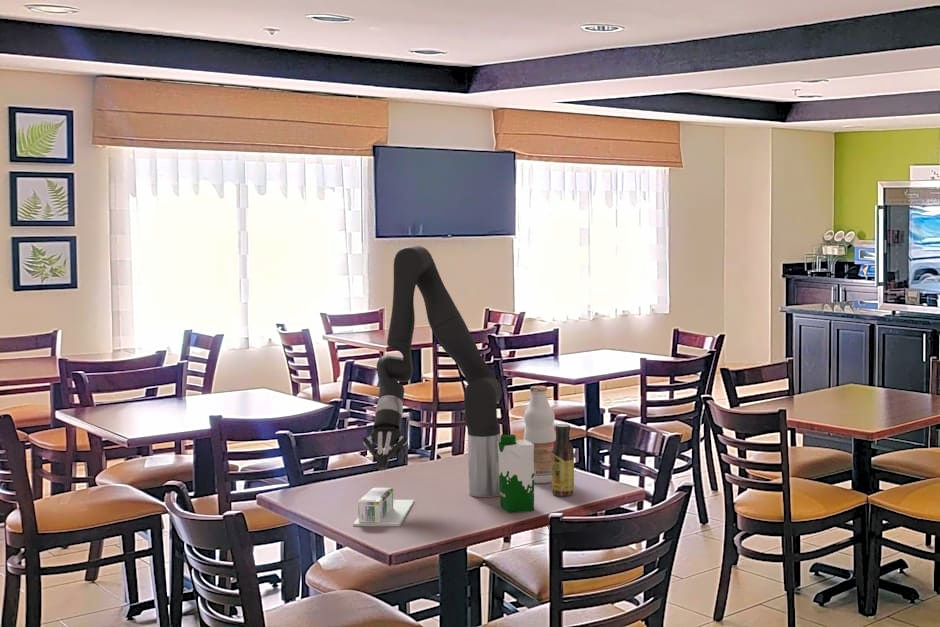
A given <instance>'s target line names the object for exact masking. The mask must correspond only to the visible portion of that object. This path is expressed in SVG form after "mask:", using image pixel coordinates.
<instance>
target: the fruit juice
mask: <svg viewBox="0 0 940 627" xmlns="http://www.w3.org/2000/svg"><path fill="white" fill-rule="evenodd" d="M529 388H530V389H529V390H530V393H531V396H530V399H529V403H528V406H527V408H526V409H525V411H524V412H523V413H524V414H523V420H524V424H525V429H524V430H523V431H524V432H523V439H525V440H527V441H529V442H530V443H532V444H534V484H547V483H548V484H550V483H552V450H553V447H554V444H555V441H556V429H555V428H554V422H555V420H556V416H555V412H554V410H553V408H552V407H551V405H550V403H549V400H548V397H547V393H548V387H547V385H533V386H530V387H529Z"/></svg>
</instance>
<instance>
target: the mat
mask: <svg viewBox="0 0 940 627" xmlns="http://www.w3.org/2000/svg"><path fill="white" fill-rule="evenodd" d="M393 500H394V501H393V509H392V510H391V511H390V512H389V513H388V514H387V515H386V516H385V517H384V518H383V519H382V520H381V521H380V522H379V523H376V522H359V516H358V517H357V518H356V520H355V521H354V522H353V524H352V525H353V527H401V525H402V524H403V522H404V520H405V518H406V516H407V515H408V513H409V511H410V509H412V507H413V505H414V503H415V499H393Z"/></svg>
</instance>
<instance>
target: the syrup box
mask: <svg viewBox="0 0 940 627" xmlns="http://www.w3.org/2000/svg"><path fill="white" fill-rule="evenodd" d="M394 500H395V499H394V488H393V487H373V488H371V489H370V490H369V491H368V492H367V493H366V494H365V495H363V496H362V497H361V498H360V499H359V500H358V511H357V512H358V513H357V514H358V517H359V522H376V523H379V522H380V521H381V520H382V519H383V518H384V517H385V516H386V515H387V514H388V513H389V512H390V511H391V510H392V509H393V501H394Z"/></svg>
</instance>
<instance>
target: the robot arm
mask: <svg viewBox="0 0 940 627" xmlns="http://www.w3.org/2000/svg"><path fill="white" fill-rule="evenodd" d="M416 286H417V289H418V290H419V292H420V294H421V296H422V298H423V302H424V307H425V312H426V317H427V321H428V324H429V326H430V329H431V330H432V332H433V335H434V337H435V338H436V340H437V342H438V343H439V345H440V346H441V348H442V349H443V350H444V351H445V353H446V354H447V355H448V356H449V358H451V360H453V362H455V364H456V366H458V367H459V369H460V371H461V372H462V374H463V376H464V378H465V381H466V383H467V385H466V387H465V389H464V394H463V398H464V399H463V402H464V420H465V426H466V428H467V455H468V457H467V461H468V492H469V495H470V496H472V497H476V498H491V497H500V488H499V455H498V443H497V442H498V441H501V425H500V423H499V421H498V416H497V415H498V414H497V413H498V411H497V404H498V403H499V402H500V401H501V398H502V396H503V394H502V393H503V392H502V387H501V384H500V383H499V380H498V378H496V376H495V374H494V373H493V371H492V370H491V369H490V367H489V366H488V364H487V363H486V361H485V360H484V358H483V356H482V355H481V352H480V350H479V348H478V346H477V344H476V342H475V340H474V337H473V336H472V334H471V333H470V332H471V331H470V330H469V328H468V326H467V324H466V322H465V320H464V319H463V316H462V314H461V312H460V311H459V310H458V307H457V306H456V304H455V302H454V300H453V299H452V297H451V295H450V294H449V291H448V290H447V287H445V285H444V282H443V280H442V278H441V275H440V272H439V271H438V269H437V266H436V263H435V260H434V259H433V256H432V254H431V253H430V251H429V250H428V249H427V248H425V247H423V246H421V245H410V246H405V247H402V248H401V249H399V250H398V251H397V253H396V254H395V256H394V258H393V292H392V293H393V294H392V306H391V316H390V322H389V328H388V333H387V334H388V335H387V338H386V340H387V341H386V345H387V347H389V348H390V349H392V350H395V351H398V352H399V353H401V355H402V357H400V356H394V355H386V354H384V355H382V356H380V357H379V359H378V360H377V362H376V373H377V375H376V376H377V378H378V384H379V393H378V400H377V404H376V408H375V414H374V419H373V420H374V422H373V428H372V431H371V433H370V435H369V436H368V437H366V436H363V437H362V442H363V445H364V447H365V448H366V449H367V450H368V452H369V453H370V455H372V457H373V458H377V459H376V467H377V469H378V470H379V471H386V469H388V466H389V461H390V460H389V459H390V458H396V457H397V456H398V455H399V454H400V453H401V452H402V451H403V450H404V449H405V448H406V447H407V446H408V445H409V441H408V438H407V437H405V436H402V432H401V431H402V430H401V428H402V422H403V414H404V413H403V412H404V406H403V405H404V404H403V403H404V397H405V388H404V385H403V384H401V383H407V382H409V381H410V380H411V379H412V377H413V375H414V365H413V358H412V343H413V336H414V330H415V322H416V321H415V320H416V318H415V308H414V307H415V305H414V298H415V290H416ZM373 442H374V444H375V445H376V446H377V450H376V448H375V447H374V446H373Z"/></svg>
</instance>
